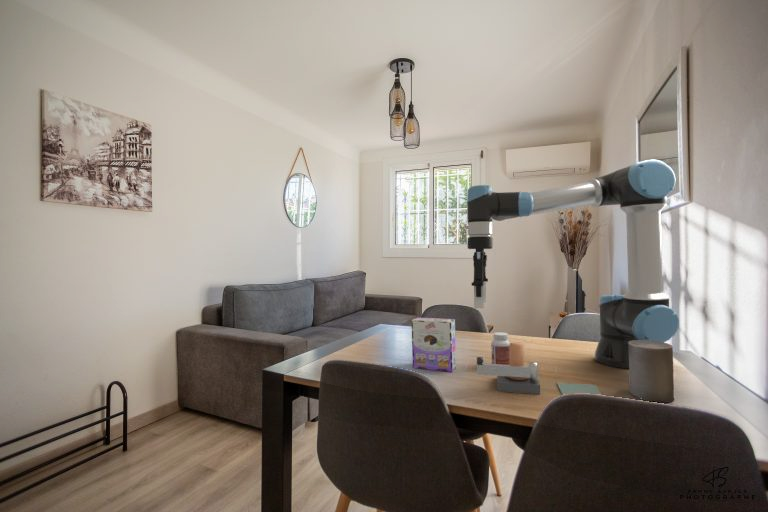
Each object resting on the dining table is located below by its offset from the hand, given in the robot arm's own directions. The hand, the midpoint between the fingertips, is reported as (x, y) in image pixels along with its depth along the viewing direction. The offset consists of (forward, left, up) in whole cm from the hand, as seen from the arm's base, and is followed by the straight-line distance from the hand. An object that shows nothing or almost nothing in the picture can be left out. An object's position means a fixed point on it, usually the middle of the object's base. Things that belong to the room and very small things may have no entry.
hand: (480, 304), depth 118 cm
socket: (-10, +6, -22) cm, 25 cm away
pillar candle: (-43, +6, -22) cm, 49 cm away
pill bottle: (-6, -11, -22) cm, 26 cm away
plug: (-10, +6, -22) cm, 25 cm away
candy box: (+16, -5, -23) cm, 28 cm away
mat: (-26, +7, -22) cm, 35 cm away
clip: (-7, +10, -19) cm, 23 cm away
